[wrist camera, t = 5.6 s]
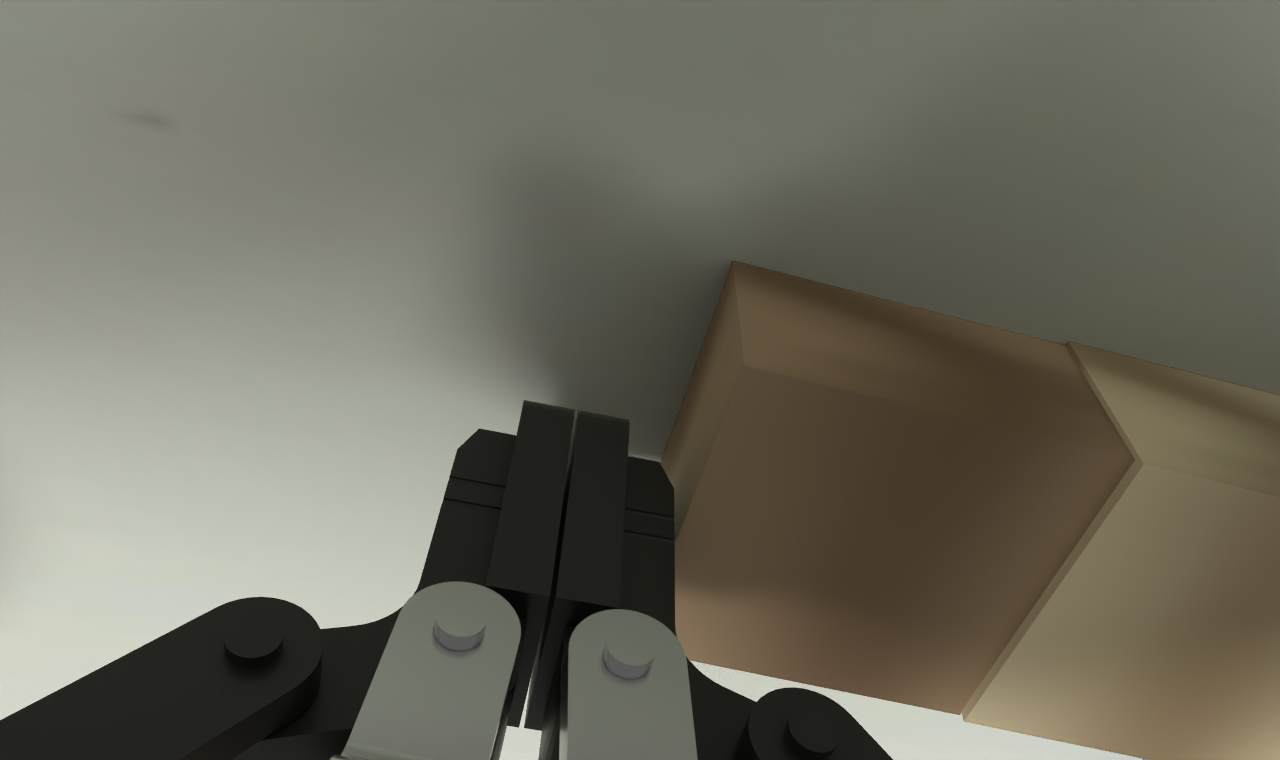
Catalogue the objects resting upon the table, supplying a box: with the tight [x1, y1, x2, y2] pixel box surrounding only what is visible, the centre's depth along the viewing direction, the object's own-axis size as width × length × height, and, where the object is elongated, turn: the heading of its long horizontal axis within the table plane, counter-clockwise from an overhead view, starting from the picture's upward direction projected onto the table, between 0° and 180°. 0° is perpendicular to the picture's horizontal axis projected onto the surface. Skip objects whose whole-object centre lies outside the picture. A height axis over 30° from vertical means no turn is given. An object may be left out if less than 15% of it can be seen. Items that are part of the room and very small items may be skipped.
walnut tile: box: [660, 261, 1135, 715], centre depth 15 cm, size 5×5×3 cm
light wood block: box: [961, 341, 1280, 760], centre depth 15 cm, size 5×5×3 cm
